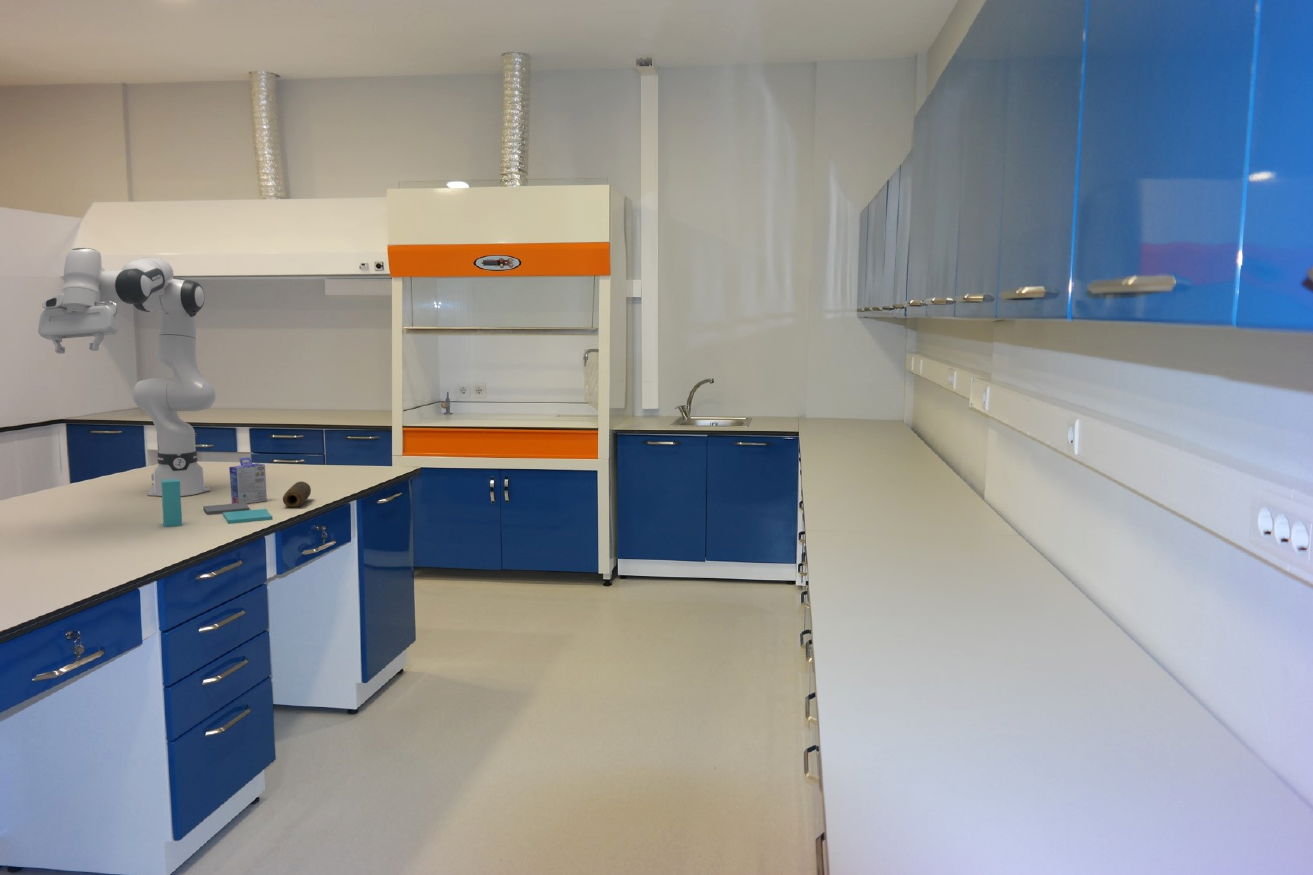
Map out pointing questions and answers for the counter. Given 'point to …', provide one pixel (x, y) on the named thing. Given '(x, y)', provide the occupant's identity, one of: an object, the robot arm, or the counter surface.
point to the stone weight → (297, 494)
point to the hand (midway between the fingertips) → (76, 351)
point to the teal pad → (247, 516)
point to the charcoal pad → (225, 508)
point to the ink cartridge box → (248, 482)
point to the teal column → (171, 502)
